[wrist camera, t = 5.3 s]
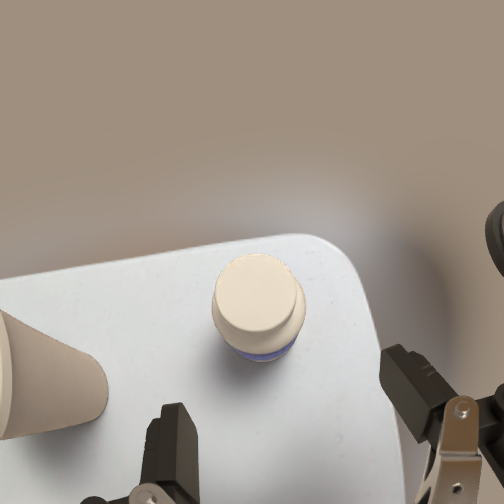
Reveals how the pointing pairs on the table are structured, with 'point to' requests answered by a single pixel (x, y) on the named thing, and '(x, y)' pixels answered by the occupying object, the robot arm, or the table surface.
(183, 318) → the table surface
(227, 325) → the pill bottle
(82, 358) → the coffee cup
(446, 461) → the robot arm
